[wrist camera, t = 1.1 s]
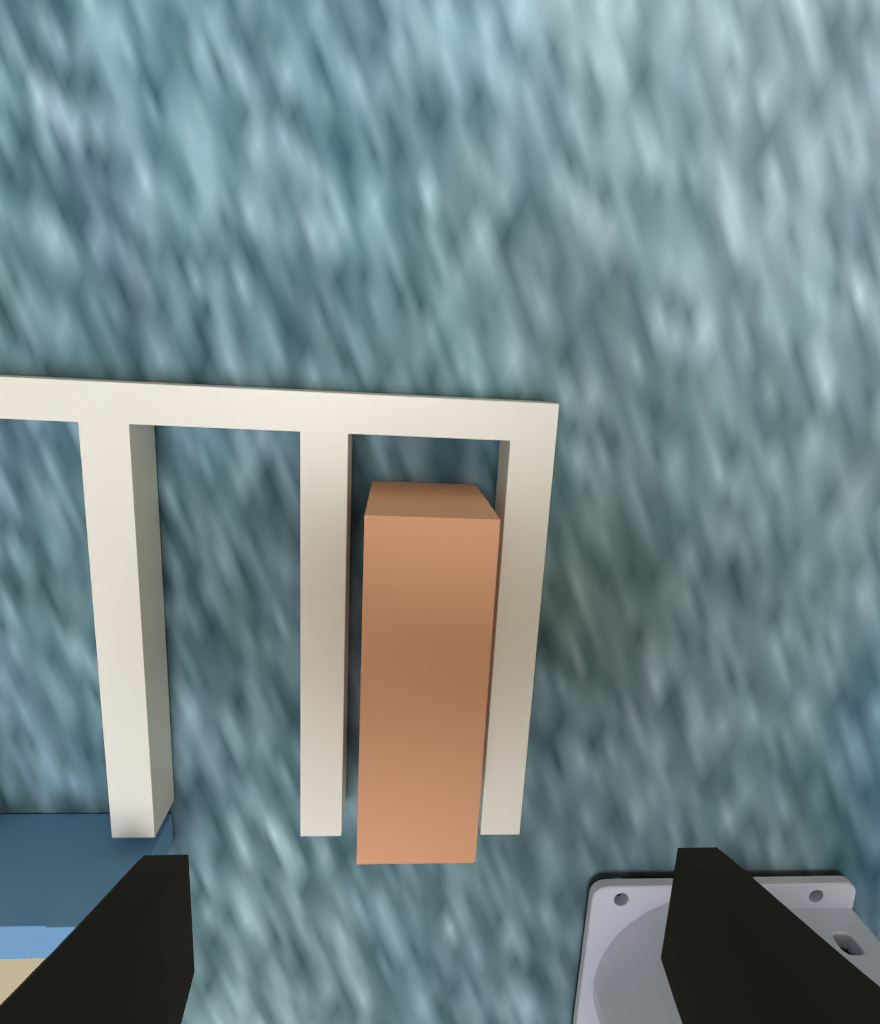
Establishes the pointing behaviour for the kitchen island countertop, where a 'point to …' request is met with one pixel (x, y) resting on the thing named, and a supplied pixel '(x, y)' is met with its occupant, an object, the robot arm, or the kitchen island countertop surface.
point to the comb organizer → (323, 568)
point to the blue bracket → (60, 874)
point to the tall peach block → (424, 670)
